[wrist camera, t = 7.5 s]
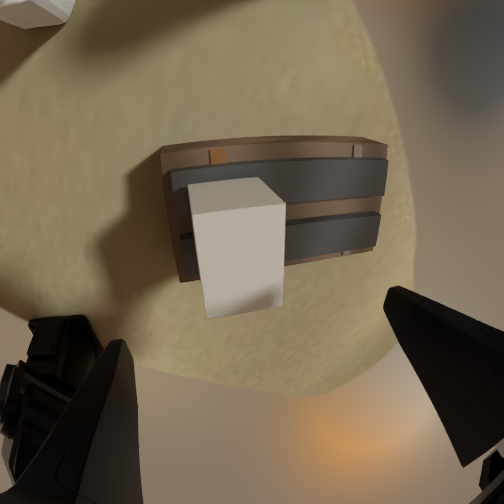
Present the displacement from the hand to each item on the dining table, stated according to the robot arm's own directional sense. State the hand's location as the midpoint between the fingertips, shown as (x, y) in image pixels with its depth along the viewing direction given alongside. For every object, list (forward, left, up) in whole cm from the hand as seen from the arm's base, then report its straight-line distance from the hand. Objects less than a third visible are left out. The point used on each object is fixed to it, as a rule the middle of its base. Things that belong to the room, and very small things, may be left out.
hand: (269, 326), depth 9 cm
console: (0, -4, -12) cm, 13 cm away
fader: (0, 0, -9) cm, 9 cm away
